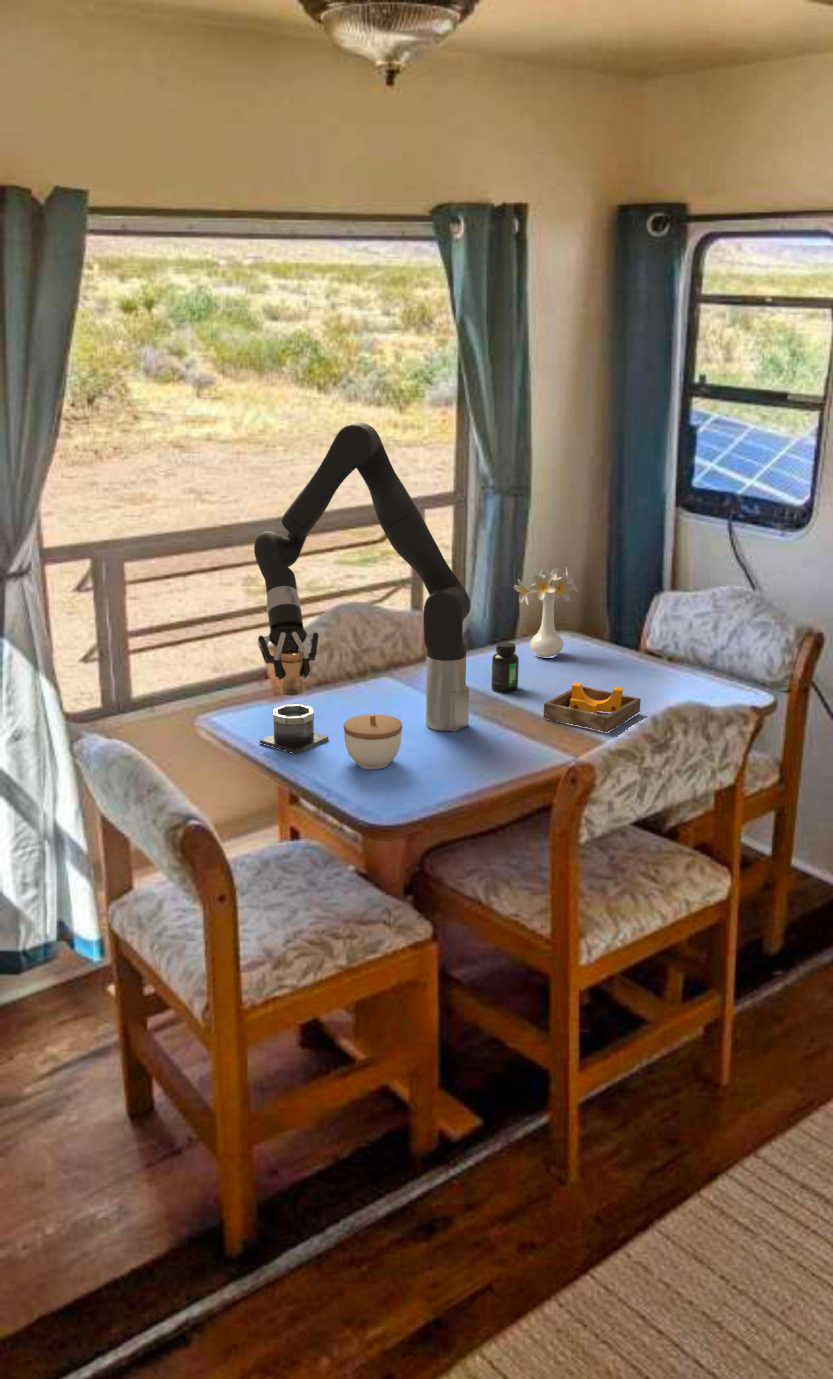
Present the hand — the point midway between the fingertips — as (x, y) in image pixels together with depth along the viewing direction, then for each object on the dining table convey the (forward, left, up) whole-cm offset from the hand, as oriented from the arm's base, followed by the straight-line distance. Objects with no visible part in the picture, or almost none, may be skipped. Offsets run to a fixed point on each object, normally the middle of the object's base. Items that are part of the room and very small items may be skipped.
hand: (293, 676), depth 267 cm
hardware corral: (-45, -57, -16) cm, 74 cm away
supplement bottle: (-17, -62, -16) cm, 66 cm away
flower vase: (-11, -93, -16) cm, 95 cm away
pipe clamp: (-44, -61, -17) cm, 77 cm away
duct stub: (+1, -1, -16) cm, 16 cm away
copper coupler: (+1, -1, -4) cm, 5 cm away
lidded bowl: (-21, -2, -16) cm, 26 cm away
